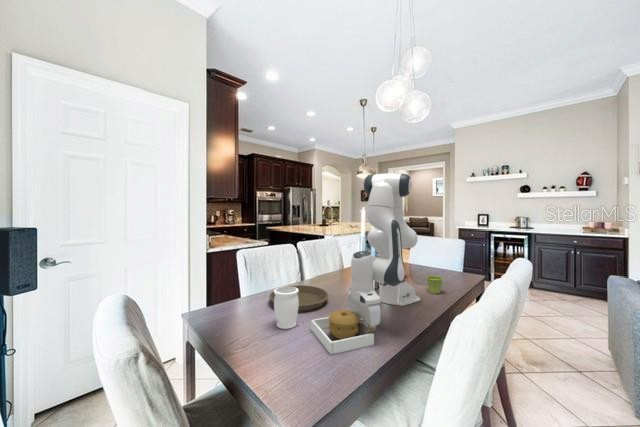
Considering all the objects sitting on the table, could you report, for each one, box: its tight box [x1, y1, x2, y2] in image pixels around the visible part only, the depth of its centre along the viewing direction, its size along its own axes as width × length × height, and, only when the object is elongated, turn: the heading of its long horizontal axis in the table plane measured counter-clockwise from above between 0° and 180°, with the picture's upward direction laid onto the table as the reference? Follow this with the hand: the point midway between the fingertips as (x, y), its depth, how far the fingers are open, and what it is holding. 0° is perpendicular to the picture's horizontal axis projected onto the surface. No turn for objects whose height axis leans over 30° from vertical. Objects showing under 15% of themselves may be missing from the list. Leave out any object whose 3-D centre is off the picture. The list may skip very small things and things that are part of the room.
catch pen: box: [310, 316, 375, 355], centre depth 101 cm, size 17×20×4 cm
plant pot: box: [425, 275, 444, 295], centre depth 154 cm, size 9×9×9 cm
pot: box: [328, 309, 359, 340], centre depth 102 cm, size 12×12×10 cm
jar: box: [273, 286, 299, 330], centre depth 112 cm, size 11×10×15 cm
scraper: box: [357, 319, 377, 336], centre depth 105 cm, size 8×12×4 cm, turn 22°
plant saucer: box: [268, 284, 329, 313], centre depth 139 cm, size 31×31×5 cm
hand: (361, 327), depth 105 cm, fingers closed on scraper, 3 cm apart
